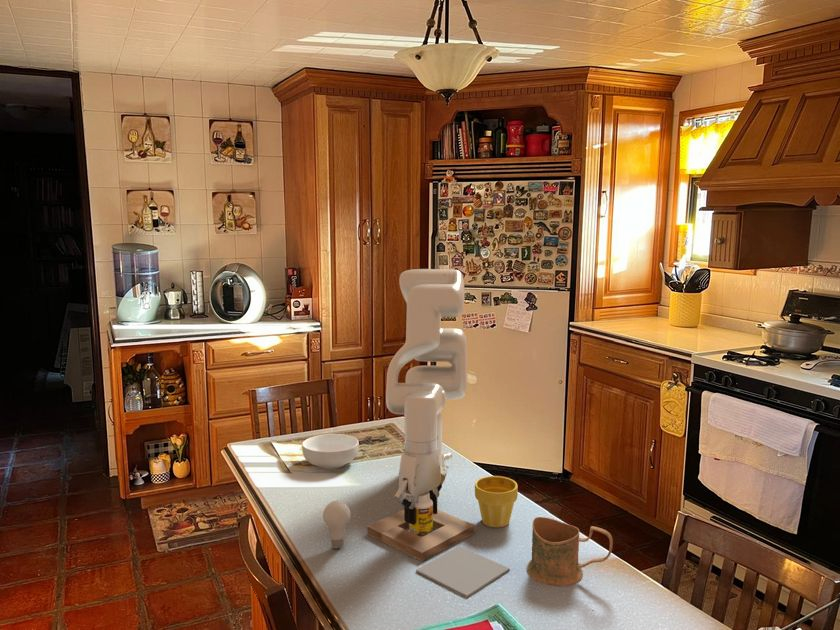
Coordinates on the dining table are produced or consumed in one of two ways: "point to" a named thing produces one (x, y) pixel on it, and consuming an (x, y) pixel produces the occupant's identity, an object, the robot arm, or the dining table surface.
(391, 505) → the dining table surface
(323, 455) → the cereal bowl
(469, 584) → the grey mat
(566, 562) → the mug
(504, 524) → the plant pot
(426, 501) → the supplement bottle
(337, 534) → the lightbulb
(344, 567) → the dining table surface
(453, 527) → the wooden square frame
